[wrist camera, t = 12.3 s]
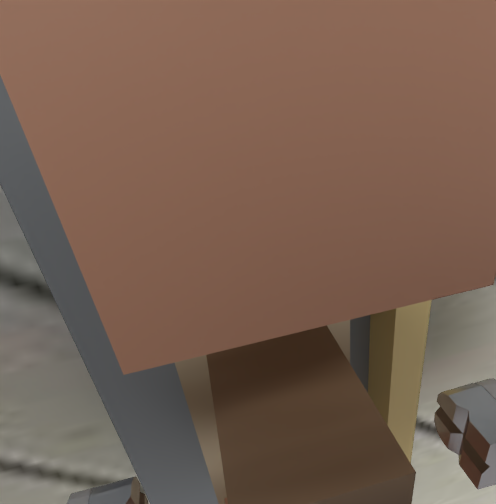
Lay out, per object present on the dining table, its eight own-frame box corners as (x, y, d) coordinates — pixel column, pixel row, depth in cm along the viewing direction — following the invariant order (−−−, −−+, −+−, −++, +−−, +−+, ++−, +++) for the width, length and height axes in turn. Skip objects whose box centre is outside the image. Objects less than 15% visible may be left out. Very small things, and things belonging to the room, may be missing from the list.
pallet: (75, -55, 9) (-340, -576, 2) (284, -79, 10) (707, -548, 2) (226, 485, 21) (264, 740, 13) (320, 459, 22) (409, 687, 14)
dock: (-99, -148, 10) (-293, -298, 6) (383, -189, 12) (512, -331, 7) (164, 484, 25) (165, 575, 20) (365, 428, 26) (405, 502, 22)
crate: (65, -43, 7) (-130, -241, 2) (338, -76, 7) (620, -287, 3) (142, 219, 9) (123, 374, 5) (341, 179, 9) (493, 285, 5)
